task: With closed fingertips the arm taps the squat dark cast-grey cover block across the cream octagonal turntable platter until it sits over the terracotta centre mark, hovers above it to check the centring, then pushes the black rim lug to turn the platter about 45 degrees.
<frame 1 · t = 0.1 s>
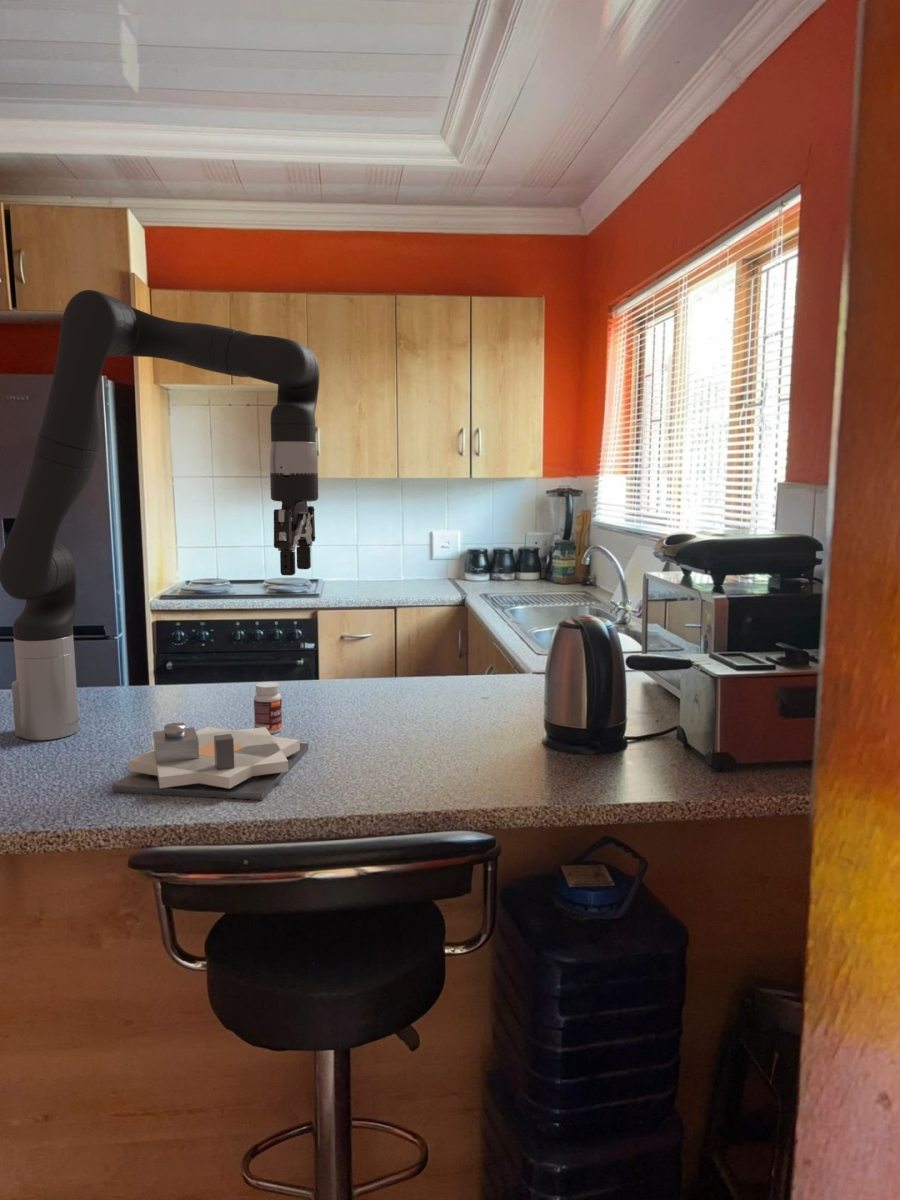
hand: (296, 572, 135), 29 cm above the countertop, fingers open, 8 cm apart
cover: (176, 754, 125), point 3 cm above the countertop, touching turntable
pill bottle: (268, 731, 148), on the countertop
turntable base: (218, 769, 128), on the countertop
turntable: (217, 741, 127), point 5 cm above the countertop, hinge at 0.0°, touching cover
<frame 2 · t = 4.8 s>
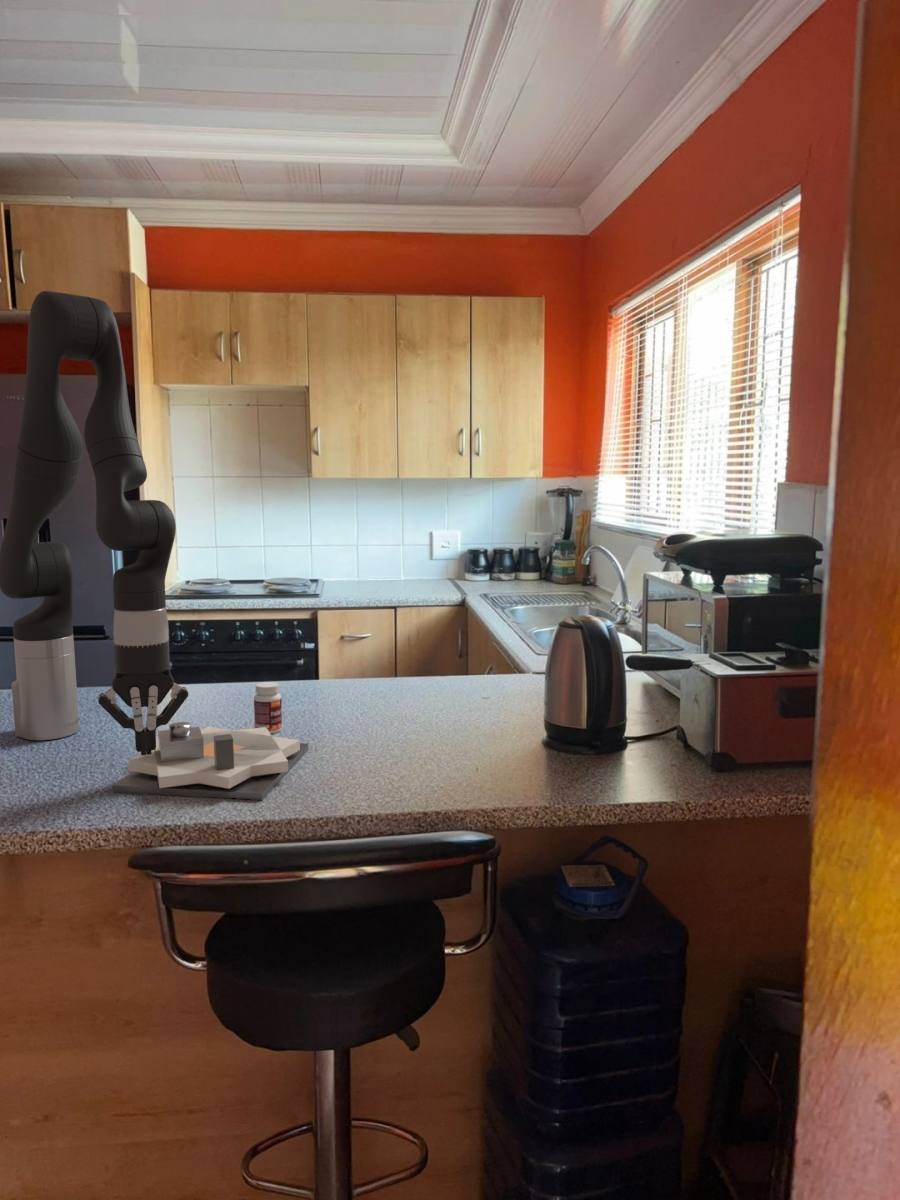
hand: (146, 753, 123), 4 cm above the countertop, fingers closed
cover: (181, 753, 126), point 3 cm above the countertop, touching gripper
turntable: (217, 741, 127), point 5 cm above the countertop, hinge at -0.3°
everything else where it was.
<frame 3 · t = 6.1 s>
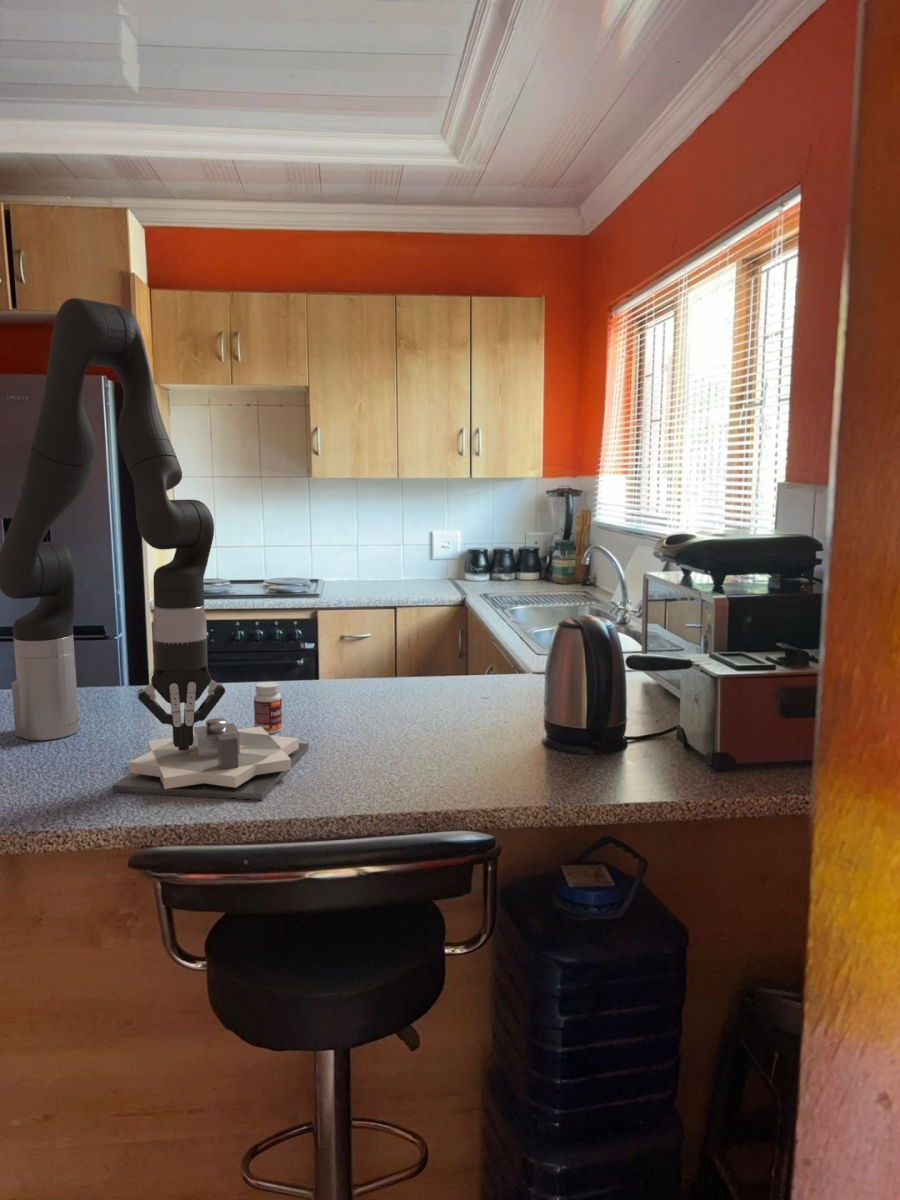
hand: (183, 748, 126), 4 cm above the countertop, fingers closed
cover: (217, 749, 128), point 3 cm above the countertop, touching gripper, turntable
turntable: (217, 741, 127), point 5 cm above the countertop, hinge at 3.7°, touching cover
everything else where it was.
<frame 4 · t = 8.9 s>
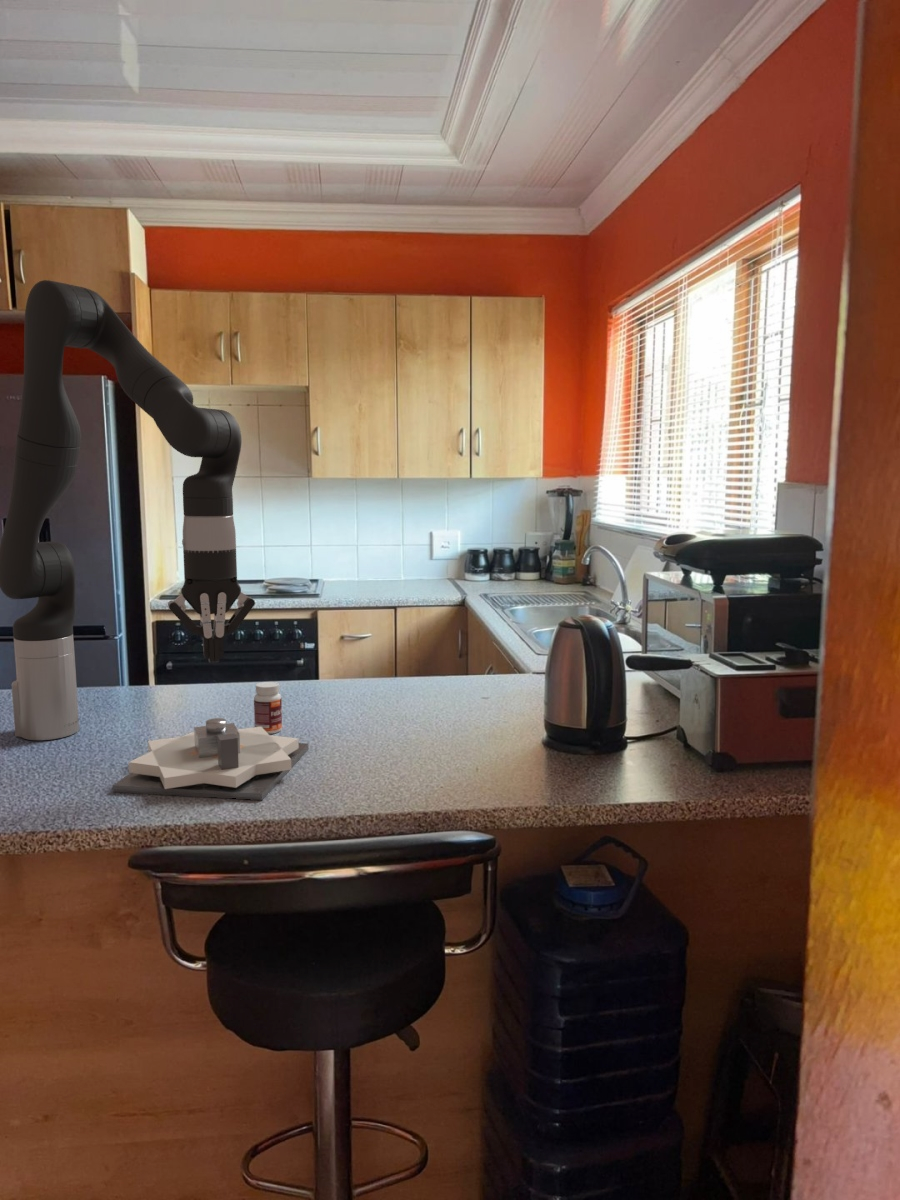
hand: (214, 661, 125), 17 cm above the countertop, fingers closed
cover: (217, 749, 128), point 3 cm above the countertop, touching turntable
everything else where it was.
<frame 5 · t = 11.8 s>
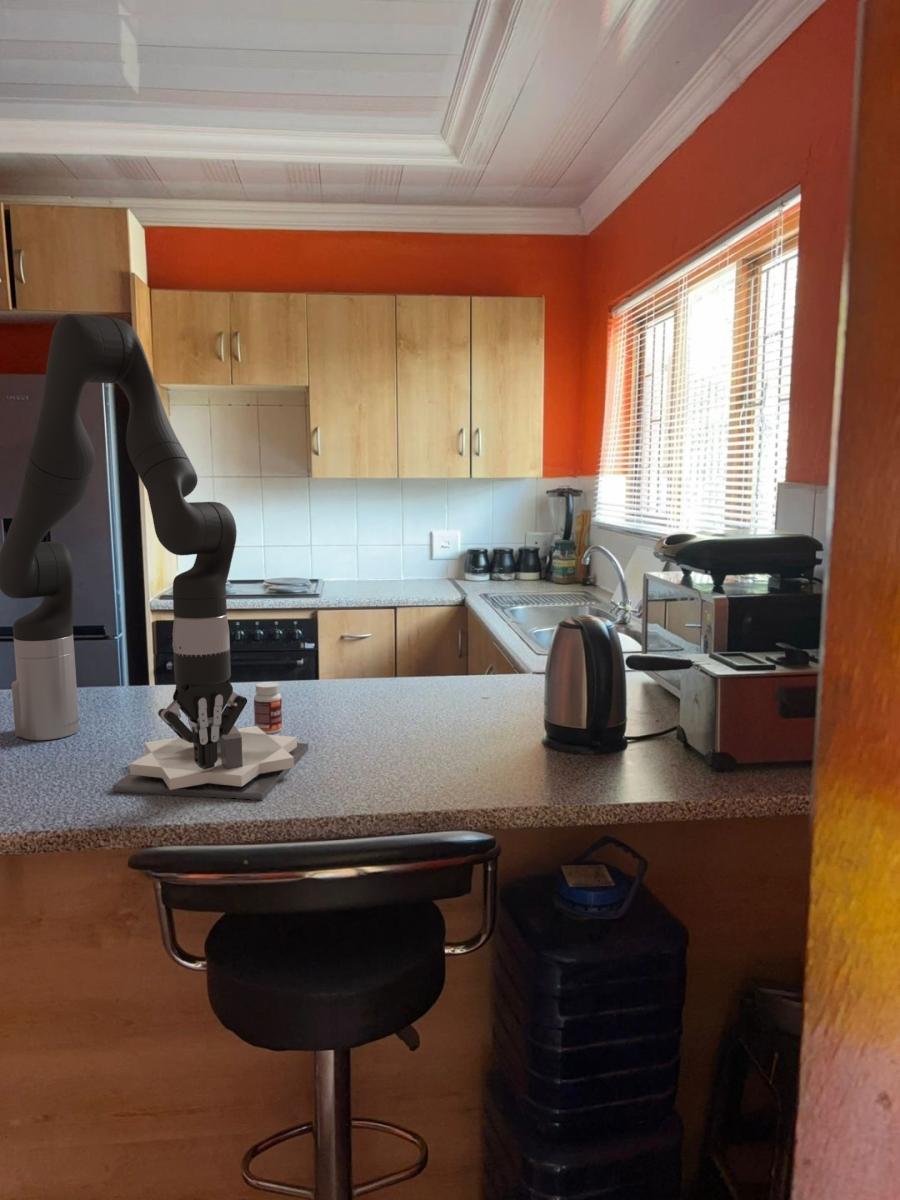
hand: (206, 767, 118), 4 cm above the countertop, fingers closed
turntable: (217, 741, 127), point 5 cm above the countertop, hinge at 7.7°, touching cover, gripper
everything else where it was.
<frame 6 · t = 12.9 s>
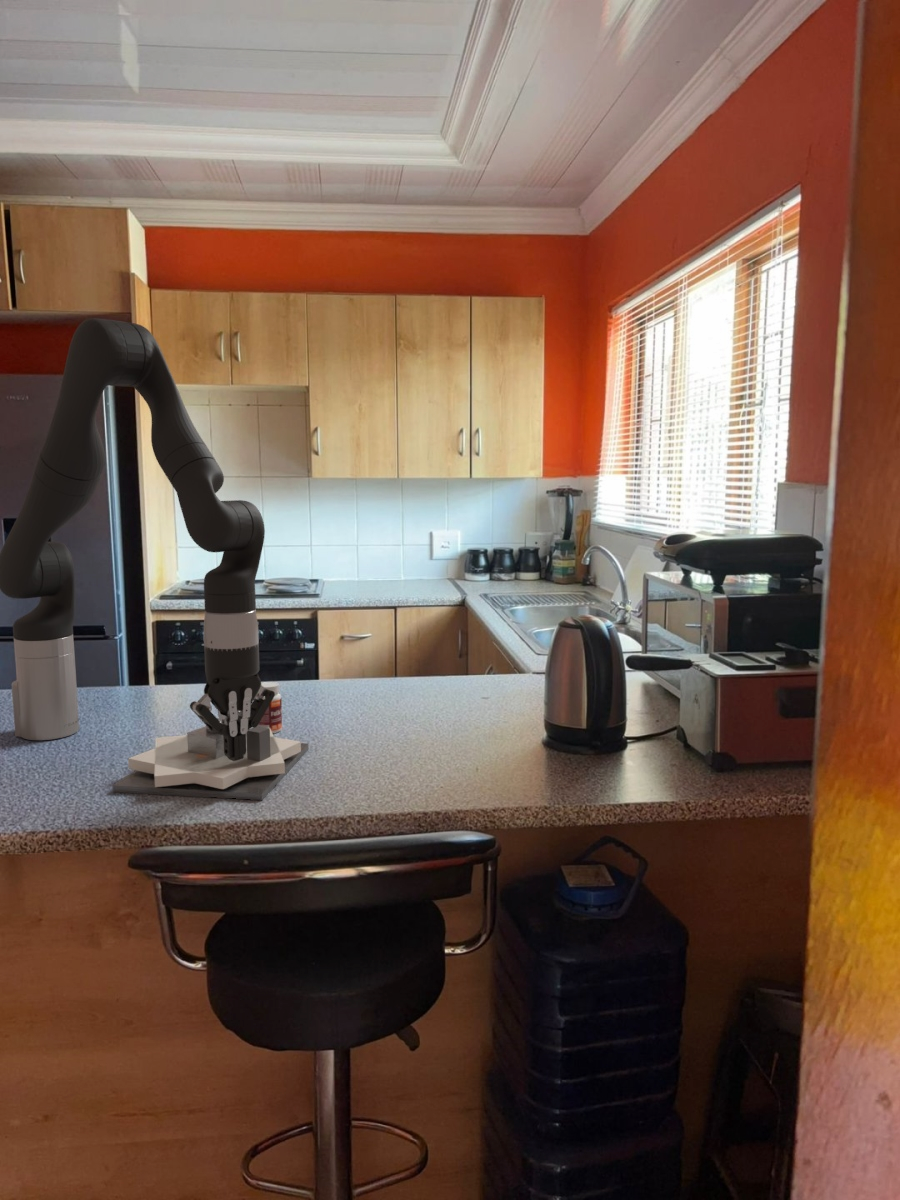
hand: (235, 758, 121), 4 cm above the countertop, fingers closed
turntable: (217, 741, 127), point 5 cm above the countertop, hinge at 41.1°, touching cover, gripper
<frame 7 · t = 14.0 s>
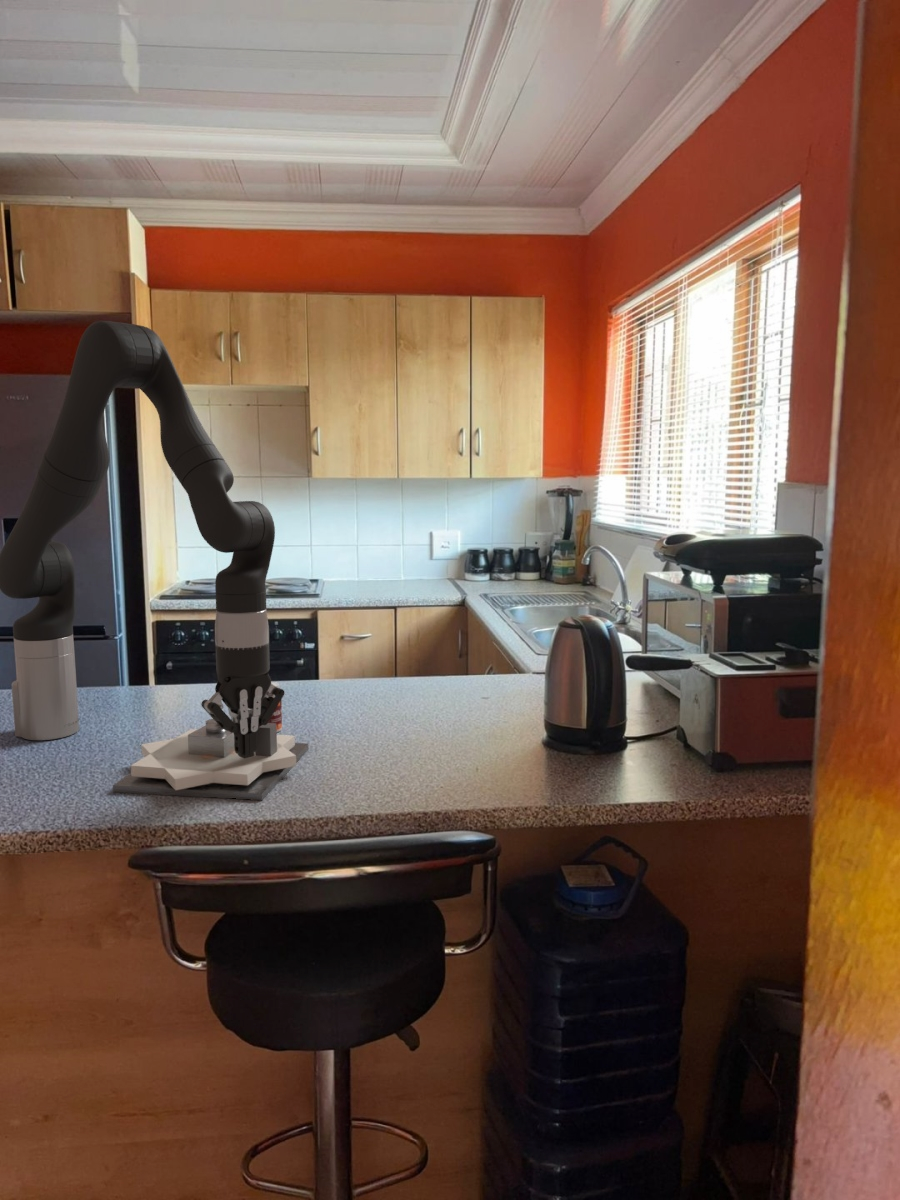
hand: (246, 756, 123), 4 cm above the countertop, fingers closed
turntable: (217, 741, 127), point 5 cm above the countertop, hinge at 56.5°, touching cover, gripper
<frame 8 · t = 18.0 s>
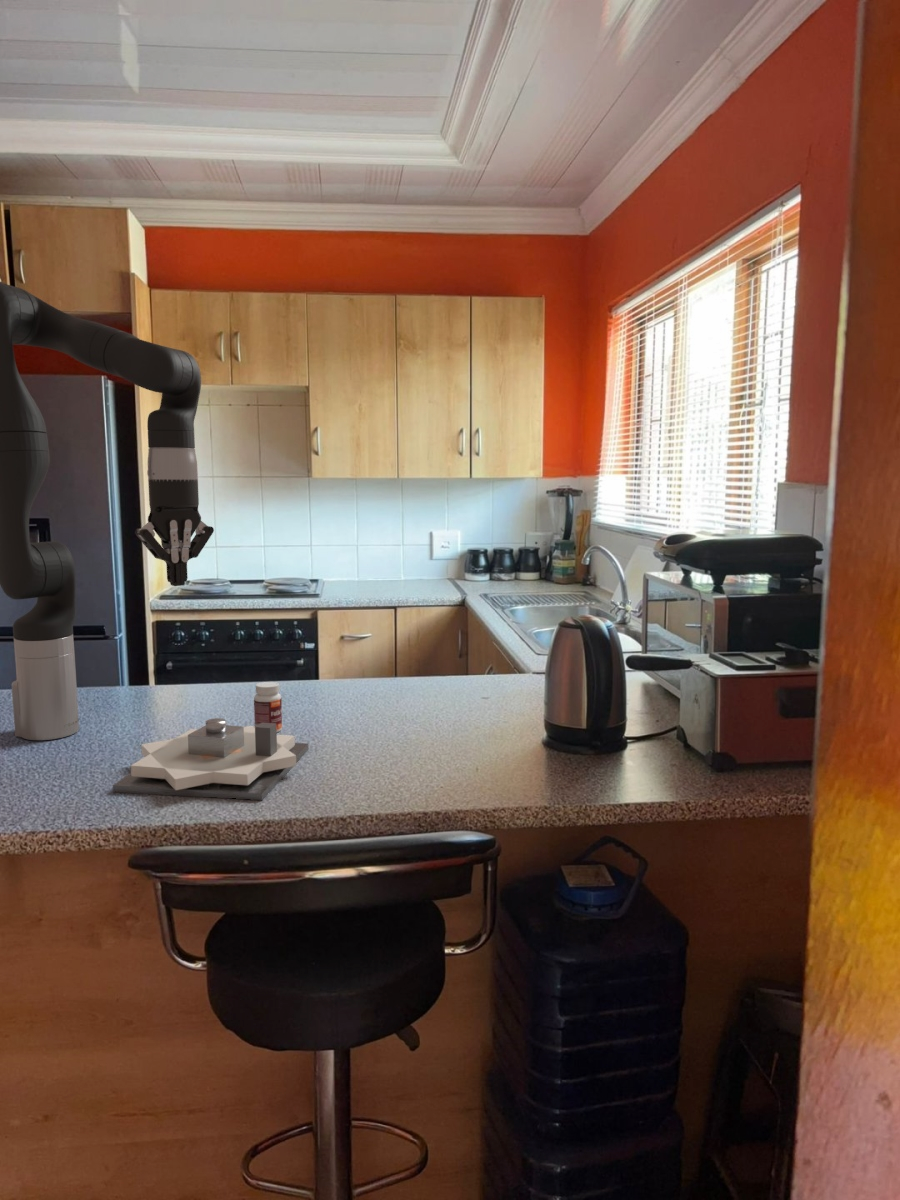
hand: (177, 585, 135), 27 cm above the countertop, fingers closed
turntable: (217, 741, 127), point 5 cm above the countertop, hinge at 56.5°, touching cover
everything else where it was.
at the end: cover 0.1 cm from the turntable (horizontally); turntable at +56° (first picture: +0°); cover tilted 0° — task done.
